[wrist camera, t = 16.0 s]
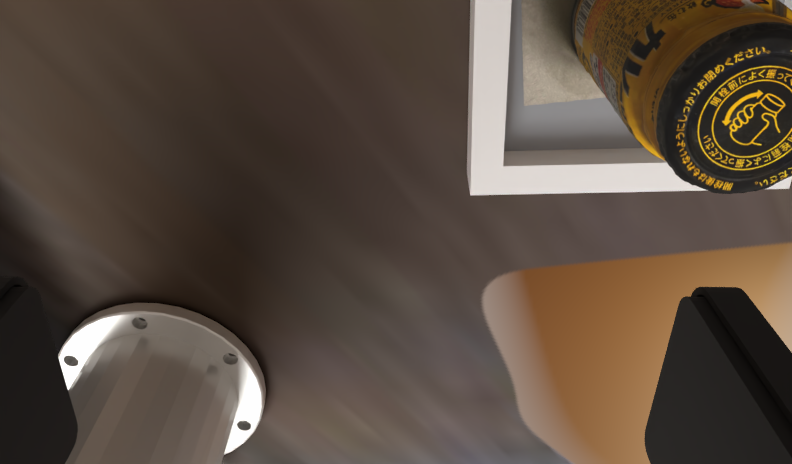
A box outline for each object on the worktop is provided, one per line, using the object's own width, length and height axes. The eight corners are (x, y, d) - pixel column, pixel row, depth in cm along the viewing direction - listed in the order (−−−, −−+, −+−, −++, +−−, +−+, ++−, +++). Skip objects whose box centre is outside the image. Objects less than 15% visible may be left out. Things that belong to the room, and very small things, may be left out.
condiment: (708, 85, 32) (850, 212, 21) (523, 104, 32) (575, 237, 22) (728, -87, 28) (913, -34, 18) (519, -62, 29) (579, 5, 18)
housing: (765, 165, 34) (788, 188, 32) (466, 172, 35) (470, 195, 33) (866, -213, 26) (906, -216, 24) (474, -197, 27) (479, -198, 25)
